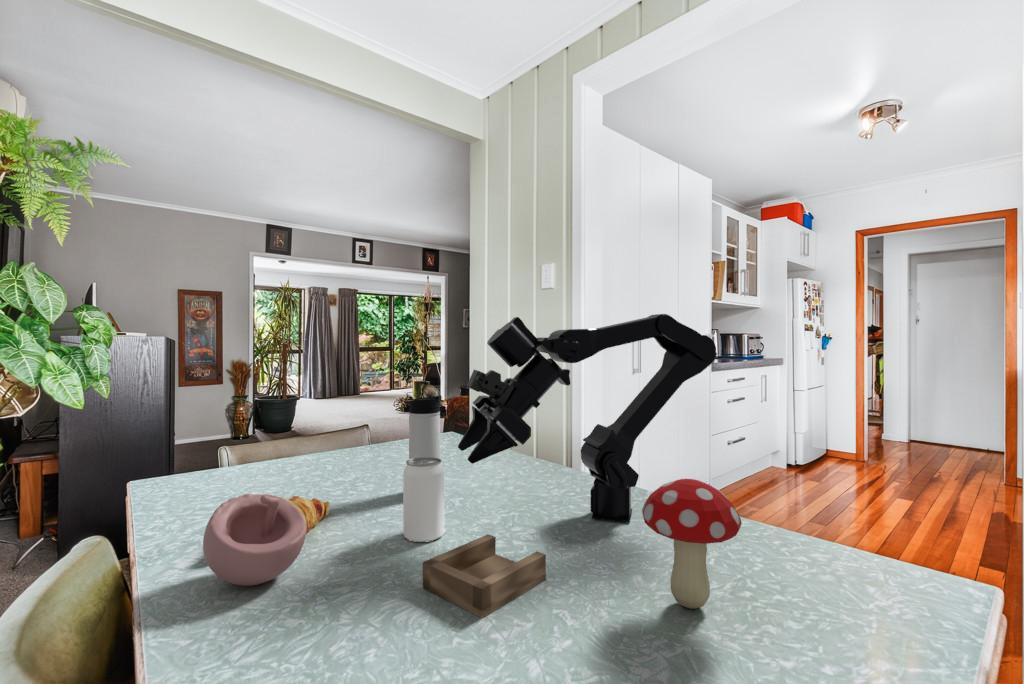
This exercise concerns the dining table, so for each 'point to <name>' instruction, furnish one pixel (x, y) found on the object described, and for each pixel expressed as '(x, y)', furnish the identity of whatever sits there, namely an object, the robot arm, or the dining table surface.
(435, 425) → the travel mug
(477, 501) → the dining table surface
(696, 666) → the dining table surface
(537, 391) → the robot arm
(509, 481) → the dining table surface
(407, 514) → the can
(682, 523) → the decorative mushroom
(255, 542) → the mortar and pestle
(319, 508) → the croissant
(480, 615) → the cradle
